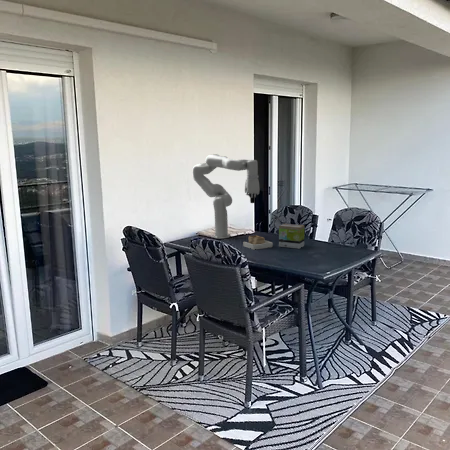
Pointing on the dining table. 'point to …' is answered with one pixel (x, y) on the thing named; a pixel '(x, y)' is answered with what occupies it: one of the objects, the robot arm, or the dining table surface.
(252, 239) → the cart
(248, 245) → the bay
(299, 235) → the tea box
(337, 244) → the dining table surface
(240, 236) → the dining table surface
